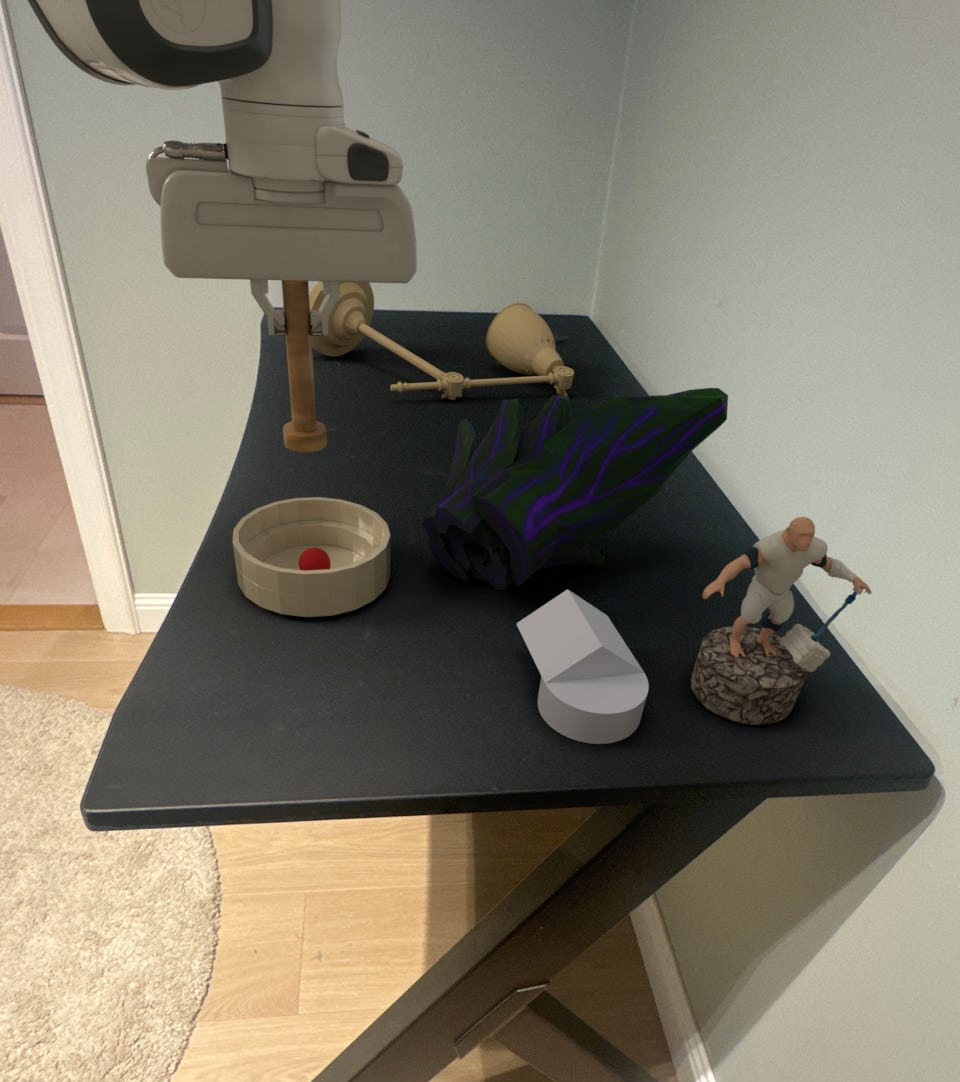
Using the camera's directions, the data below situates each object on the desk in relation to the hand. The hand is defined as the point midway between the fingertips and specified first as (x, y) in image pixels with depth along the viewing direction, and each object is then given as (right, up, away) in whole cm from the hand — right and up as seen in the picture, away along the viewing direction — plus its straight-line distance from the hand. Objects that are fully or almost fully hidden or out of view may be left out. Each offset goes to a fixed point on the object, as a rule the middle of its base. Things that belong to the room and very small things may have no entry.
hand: (298, 334), depth 68 cm
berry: (-1, -19, +11) cm, 22 cm away
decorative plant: (+22, -17, +21) cm, 35 cm away
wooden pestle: (-1, -8, +6) cm, 10 cm away
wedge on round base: (+25, -31, +2) cm, 40 cm away
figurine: (+39, -32, +3) cm, 51 cm away
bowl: (-1, -20, +13) cm, 24 cm away
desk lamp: (+10, +19, +67) cm, 70 cm away
